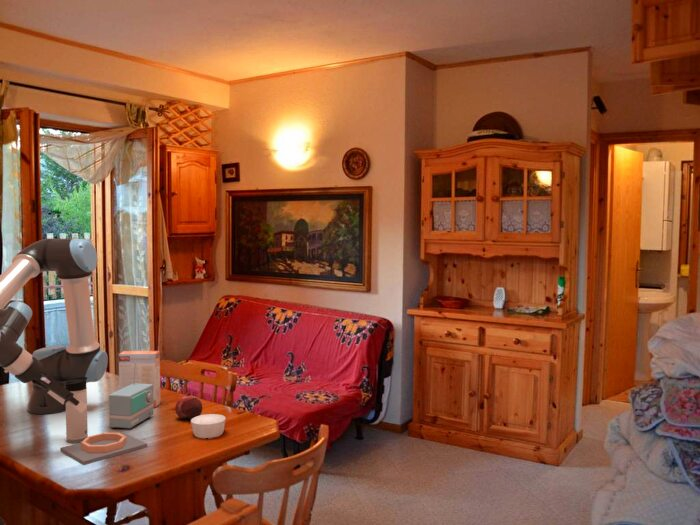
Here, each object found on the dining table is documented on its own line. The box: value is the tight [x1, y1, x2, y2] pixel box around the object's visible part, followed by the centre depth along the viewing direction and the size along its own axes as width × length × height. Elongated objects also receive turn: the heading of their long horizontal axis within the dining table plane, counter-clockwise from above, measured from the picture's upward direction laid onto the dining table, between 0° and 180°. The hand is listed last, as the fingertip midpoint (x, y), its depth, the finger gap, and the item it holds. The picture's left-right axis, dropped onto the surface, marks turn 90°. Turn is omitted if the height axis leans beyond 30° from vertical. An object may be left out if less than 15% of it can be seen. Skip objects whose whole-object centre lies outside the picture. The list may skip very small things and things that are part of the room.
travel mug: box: [65, 376, 89, 444], centre depth 199 cm, size 6×7×20 cm
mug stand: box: [59, 431, 148, 466], centre depth 192 cm, size 16×20×3 cm
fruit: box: [174, 390, 203, 420], centre depth 222 cm, size 9×10×10 cm
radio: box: [108, 362, 155, 429], centre depth 217 cm, size 16×9×20 cm, turn 169°
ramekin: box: [190, 413, 227, 439], centre depth 206 cm, size 11×11×5 cm
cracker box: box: [118, 350, 161, 408], centre depth 237 cm, size 14×6×21 cm, turn 89°
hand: (74, 404), depth 198 cm, fingers open, 13 cm apart
